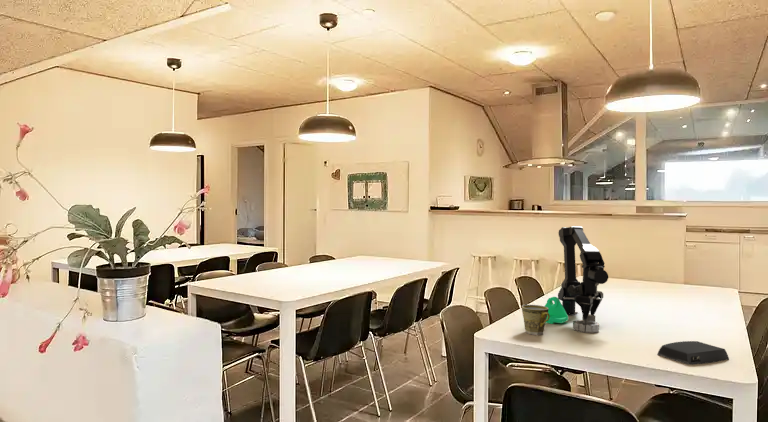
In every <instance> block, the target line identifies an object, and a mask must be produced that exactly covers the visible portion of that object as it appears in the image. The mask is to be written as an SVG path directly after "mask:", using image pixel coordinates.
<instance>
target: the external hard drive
mask: <svg viewBox="0 0 768 422" xmlns="http://www.w3.org/2000/svg"><path fill="white" fill-rule="evenodd" d="M657 355H658V356H660V357H663V358H667V359H669V360H673V361H675V362H678V363H682V364H683V365H684V364H685V365H687V366H688V365H689V366H692V365H703V364H712V363H718V362H723V361H727V360H730V357H729V354H728V353H727V351H726V349H725V348H723V347H718V346H715V345H711V344H708V343H705V342H700V341H696V340H693V341H692V340H691V341H689V340H686V341H684V340H683V341H676V342H670V343H665V344H663V345H661V347H659V349H658V352H657Z"/></svg>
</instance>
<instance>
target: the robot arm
mask: <svg viewBox="0 0 768 422" xmlns="http://www.w3.org/2000/svg"><path fill="white" fill-rule="evenodd" d="M558 237H559V242H560V243H561V245H562V246H563V257H564V258H563V262H564V278H563V281H562V283H560V284H561V285H560V290H559V291H558V293H557V298H558V299H559V300H560V302H561V304H562V306H563V308H564V309H565V311H566V313H567V315H568V316H575V315H578V314H579V313H578V311H576V304H577V305H578V306H579V307H580V310H581V313H582V316H583V318H584V319H587V317H588V315H589V314H591V315H595V314H596V312H597V310H598V307H600V304H601V303H602V301H603V298H604V292H603V291H600V290H598V286H599V285H604V284H605V283H607V282H608V280H609V274H608V272H607V271H606V269H605V261H604V259H603V257H602V254H601V251H600V250H599V249H598V247H596V246H594V245H592V244H591V242H590V240H589V239H588V237H587V236H586V233H585V232H584V228H583V226H580V225H572V226H568V227H565V226H564V227H563V226H562V227H561V228H560V229H559V230H558ZM576 245H577V247H578V249H579V251H580V253H579V258H580V261H581V264H582V265H581V268H582V281H581V282H580V281H578V279H577V267H576V266H577V265H576ZM604 269H605V270H604Z"/></svg>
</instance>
